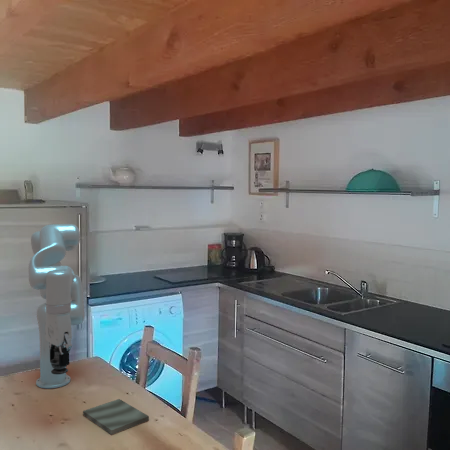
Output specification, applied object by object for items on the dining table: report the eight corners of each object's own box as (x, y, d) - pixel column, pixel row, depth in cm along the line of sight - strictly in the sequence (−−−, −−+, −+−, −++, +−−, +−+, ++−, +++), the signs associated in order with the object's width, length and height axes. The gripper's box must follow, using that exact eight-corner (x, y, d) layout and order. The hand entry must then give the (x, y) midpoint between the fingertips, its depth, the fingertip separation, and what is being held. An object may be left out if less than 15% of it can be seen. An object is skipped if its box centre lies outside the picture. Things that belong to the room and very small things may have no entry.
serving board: (83, 415, 167) (82, 410, 166) (119, 402, 176) (119, 398, 176) (111, 435, 154) (111, 430, 154) (148, 420, 163) (148, 416, 163)
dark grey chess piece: (71, 367, 165) (70, 332, 164) (66, 374, 159) (65, 338, 158) (53, 367, 165) (52, 332, 164) (47, 374, 159) (47, 338, 158)
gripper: (36, 305, 164) (37, 358, 165) (59, 315, 151) (60, 373, 153) (57, 301, 169) (58, 353, 171) (82, 311, 157) (83, 367, 158)
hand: (59, 362), depth 162 cm, fingers closed on dark grey chess piece, 5 cm apart
